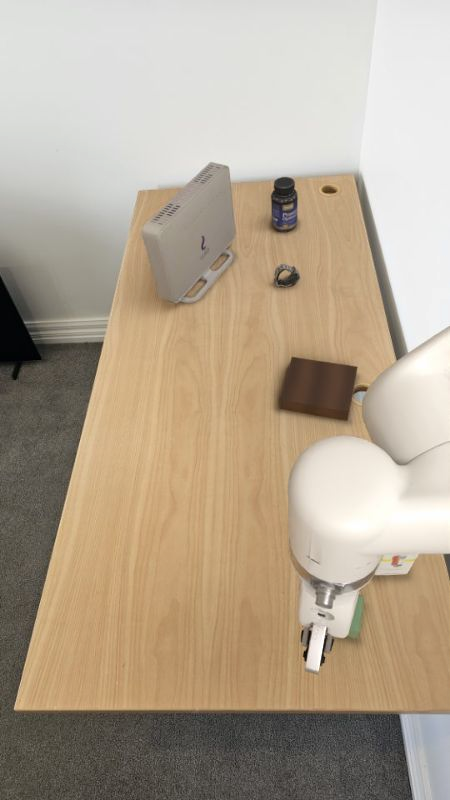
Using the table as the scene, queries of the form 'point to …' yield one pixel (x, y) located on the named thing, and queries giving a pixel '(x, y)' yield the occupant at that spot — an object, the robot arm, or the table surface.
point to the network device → (192, 235)
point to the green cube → (356, 618)
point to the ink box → (395, 564)
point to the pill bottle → (284, 204)
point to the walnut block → (318, 388)
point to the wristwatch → (291, 279)
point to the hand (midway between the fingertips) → (324, 597)
